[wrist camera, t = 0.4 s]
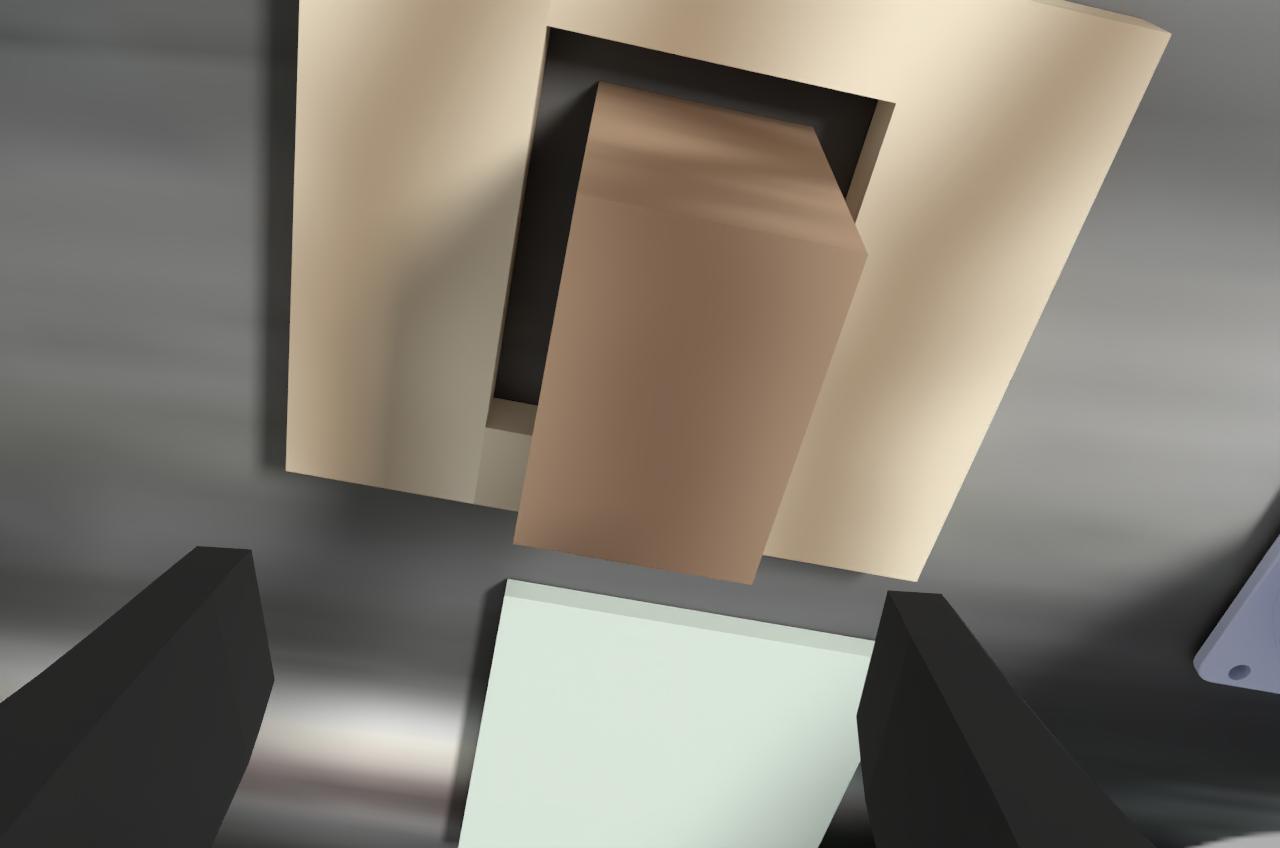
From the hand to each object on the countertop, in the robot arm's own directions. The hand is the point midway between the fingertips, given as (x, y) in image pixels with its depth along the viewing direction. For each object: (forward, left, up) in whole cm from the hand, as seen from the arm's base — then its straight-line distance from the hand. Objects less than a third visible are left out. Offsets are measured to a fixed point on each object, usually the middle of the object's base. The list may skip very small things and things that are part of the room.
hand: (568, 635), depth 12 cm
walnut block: (-1, -1, -10) cm, 10 cm away
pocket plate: (-1, -1, -10) cm, 10 cm away
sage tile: (-4, +13, -10) cm, 17 cm away
